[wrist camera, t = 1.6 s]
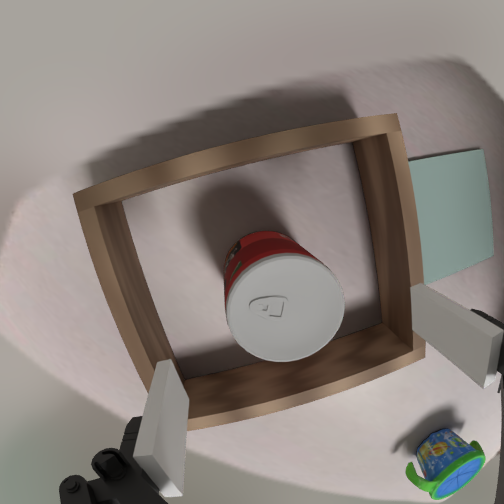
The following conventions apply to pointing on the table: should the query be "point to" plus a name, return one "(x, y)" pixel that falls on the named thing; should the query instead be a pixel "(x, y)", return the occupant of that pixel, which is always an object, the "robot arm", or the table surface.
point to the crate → (267, 372)
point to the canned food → (280, 298)
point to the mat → (452, 212)
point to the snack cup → (446, 464)
